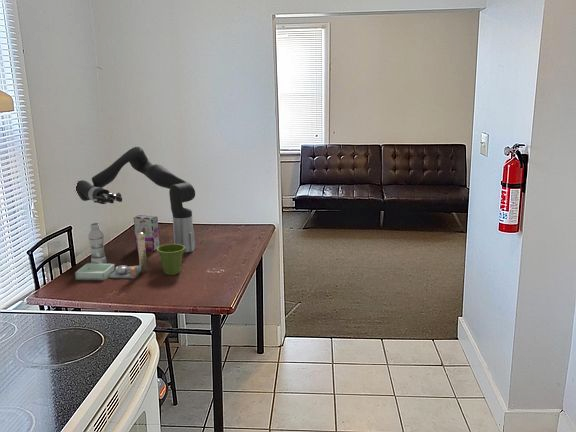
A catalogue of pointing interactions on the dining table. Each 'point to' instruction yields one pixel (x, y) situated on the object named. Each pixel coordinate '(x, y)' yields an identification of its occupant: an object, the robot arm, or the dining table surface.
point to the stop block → (132, 270)
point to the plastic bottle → (97, 245)
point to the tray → (94, 271)
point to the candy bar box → (147, 231)
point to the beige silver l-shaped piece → (142, 257)
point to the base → (124, 275)
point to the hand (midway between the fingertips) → (116, 200)
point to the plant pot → (171, 258)
